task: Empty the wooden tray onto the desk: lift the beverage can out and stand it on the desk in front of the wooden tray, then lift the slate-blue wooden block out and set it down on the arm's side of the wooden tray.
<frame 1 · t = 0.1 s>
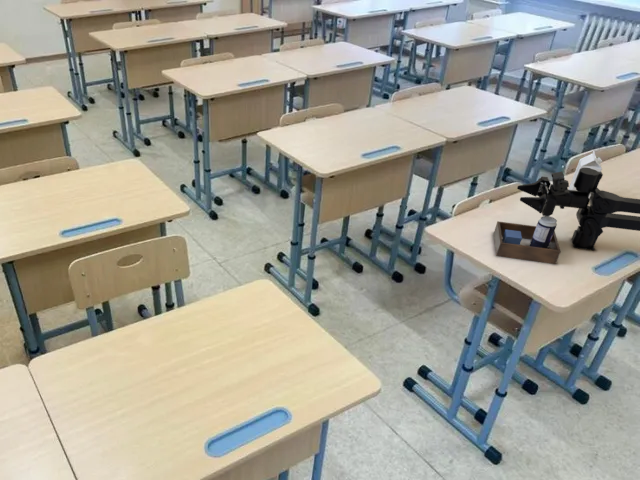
hand: (518, 192, 189), 17 cm above the table, tool horizontal, fingers open, 9 cm apart
beverage can: (537, 250, 191), resting in wooden tray
block: (509, 246, 193), resting in wooden tray
wooden tray: (523, 248, 192), on the table
milk carton: (576, 199, 220), on the table
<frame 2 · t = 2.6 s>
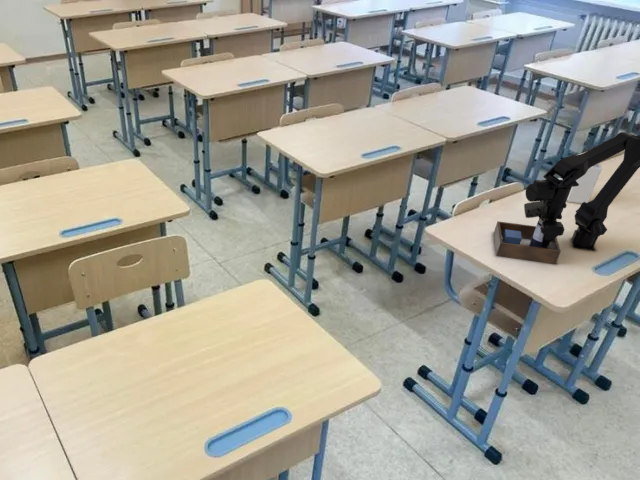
hand: (541, 239, 188), 4 cm above the table, tool pointing down
beverage can: (537, 250, 191), resting in wooden tray, touching gripper
everything else where it was.
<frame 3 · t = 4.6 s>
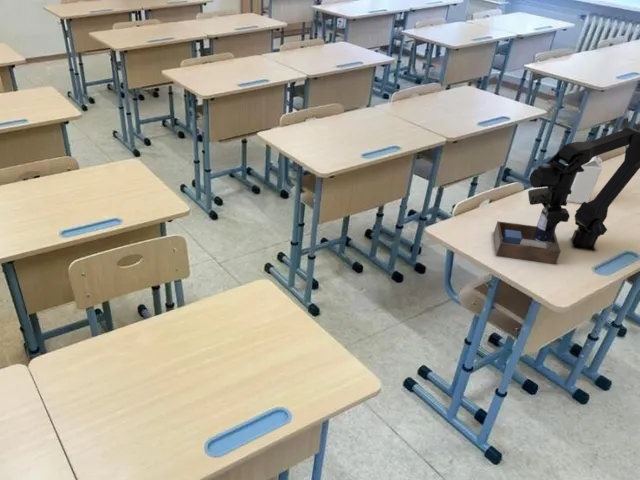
hand: (545, 226, 185), 9 cm above the table, tool pointing down, fingers closed on beverage can, 6 cm apart
beverage can: (541, 239, 188), point 4 cm above the table, touching gripper
everything else where it was.
when the fingers open (1 cm above the table, at t = 18.1 s): beverage can stays where it is, on the table.
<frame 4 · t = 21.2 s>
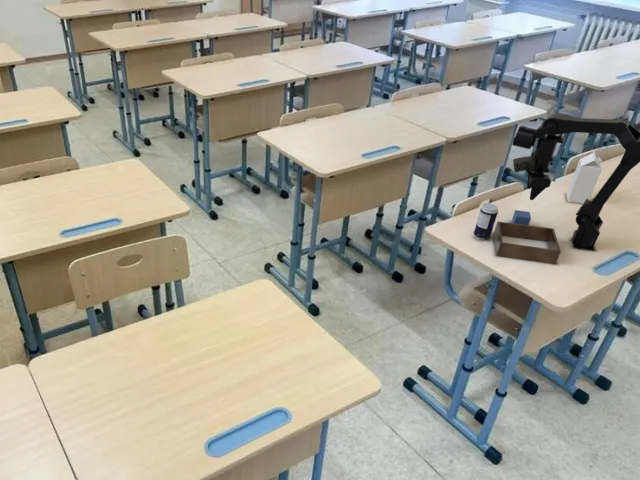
hand: (529, 194, 196), 13 cm above the table, tool pointing down, fingers open, 9 cm apart
beverage can: (481, 237, 198), on the table
block: (518, 226, 204), on the table
everything else where it was.
at the end: beverage can inside the target area (0.4 cm from its centre), on the table; beverage can tilted 0°; block inside the target area (0.1 cm from its centre), on the table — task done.
